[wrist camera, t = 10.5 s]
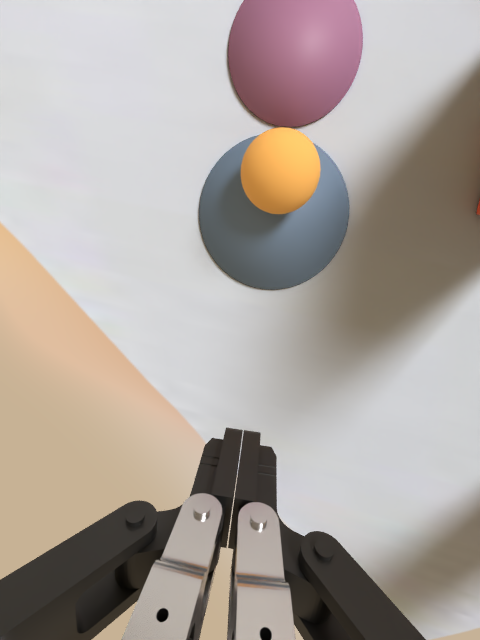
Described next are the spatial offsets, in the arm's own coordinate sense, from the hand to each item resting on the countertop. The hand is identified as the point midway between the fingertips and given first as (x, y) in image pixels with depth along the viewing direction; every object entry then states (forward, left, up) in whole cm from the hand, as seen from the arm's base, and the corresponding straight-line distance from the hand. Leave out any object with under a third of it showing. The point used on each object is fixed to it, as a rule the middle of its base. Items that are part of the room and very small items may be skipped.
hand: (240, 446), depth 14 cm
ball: (0, -12, -16) cm, 20 cm away
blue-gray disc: (0, -9, -19) cm, 21 cm away
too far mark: (0, -21, -19) cm, 28 cm away
